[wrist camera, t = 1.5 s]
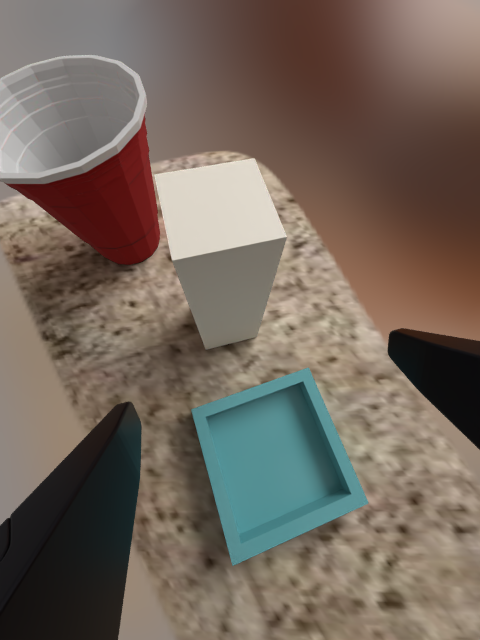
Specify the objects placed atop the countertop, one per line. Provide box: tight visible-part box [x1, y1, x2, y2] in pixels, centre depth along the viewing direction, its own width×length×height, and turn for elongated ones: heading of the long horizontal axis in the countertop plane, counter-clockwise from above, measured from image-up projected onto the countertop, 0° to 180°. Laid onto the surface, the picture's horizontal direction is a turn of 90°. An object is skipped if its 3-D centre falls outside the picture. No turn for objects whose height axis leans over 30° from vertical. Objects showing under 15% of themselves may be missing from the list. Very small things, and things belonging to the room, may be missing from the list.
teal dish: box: [191, 368, 368, 566], centre depth 18 cm, size 9×9×2 cm
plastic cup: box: [0, 55, 160, 265], centre depth 20 cm, size 11×11×12 cm
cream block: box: [154, 158, 287, 350], centre depth 17 cm, size 4×4×13 cm
